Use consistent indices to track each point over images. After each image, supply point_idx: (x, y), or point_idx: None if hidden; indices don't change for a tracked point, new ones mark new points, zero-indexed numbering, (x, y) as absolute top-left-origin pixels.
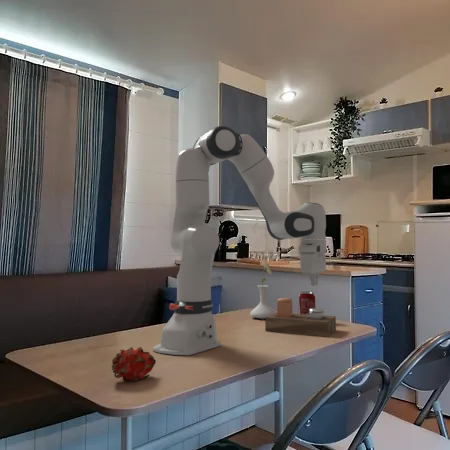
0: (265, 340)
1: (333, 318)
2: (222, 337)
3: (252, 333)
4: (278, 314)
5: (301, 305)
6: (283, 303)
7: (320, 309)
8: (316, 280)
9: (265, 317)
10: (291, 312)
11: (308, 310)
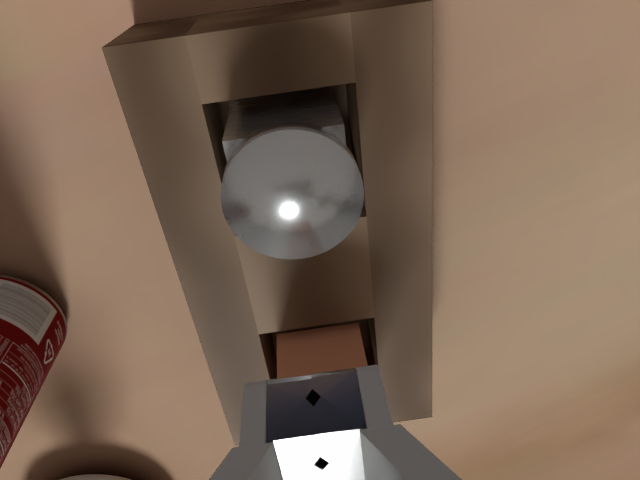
0: (632, 258)
1: (193, 33)
2: (614, 413)
3: (491, 372)
4: None
5: (23, 415)
6: None
7: (292, 158)
8: (288, 448)
9: (431, 415)
10: (299, 357)
11: (11, 348)
